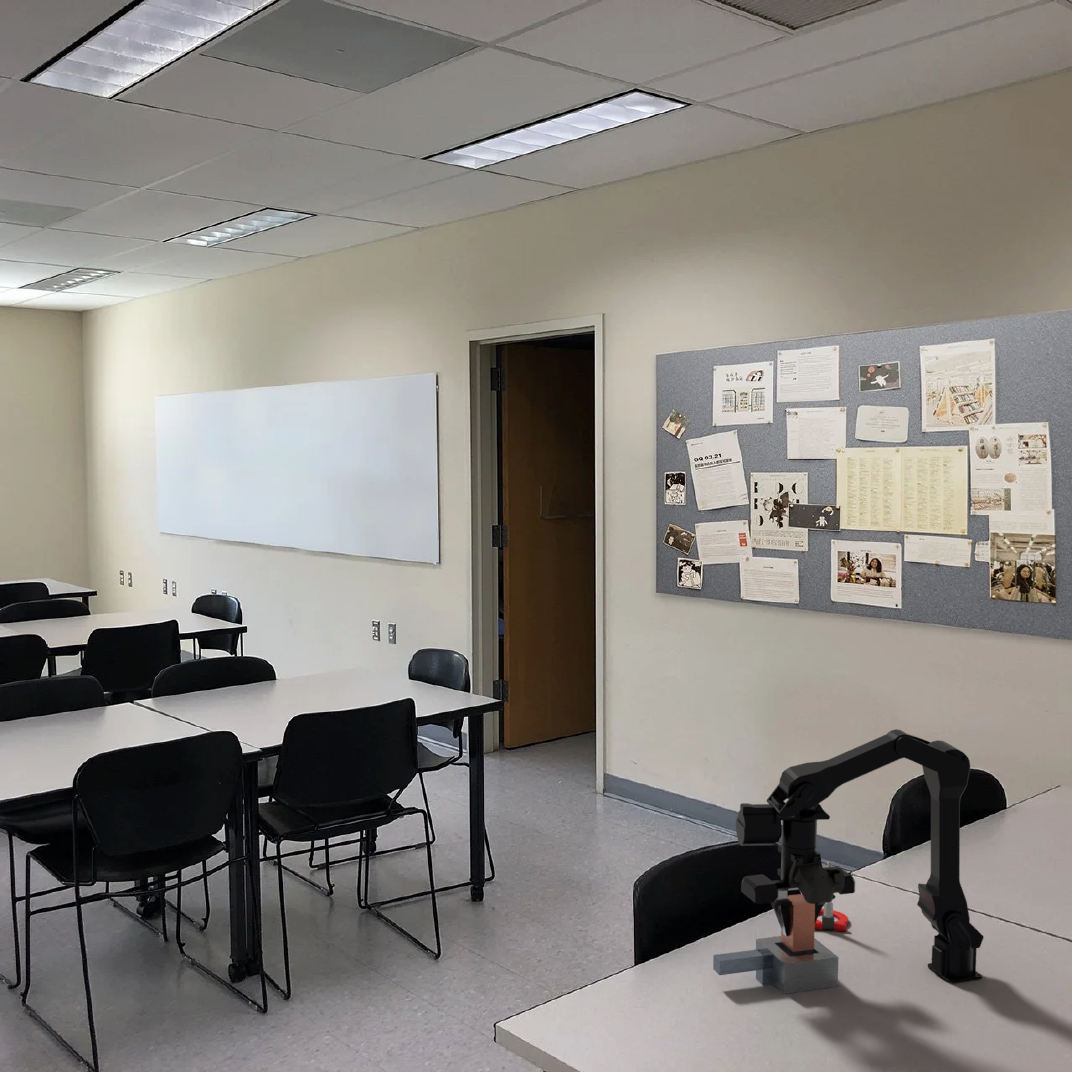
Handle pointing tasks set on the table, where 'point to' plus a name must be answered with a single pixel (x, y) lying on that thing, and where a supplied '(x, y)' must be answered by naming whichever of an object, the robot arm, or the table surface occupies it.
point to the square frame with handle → (783, 965)
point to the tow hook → (831, 917)
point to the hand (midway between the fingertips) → (797, 933)
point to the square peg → (800, 925)
